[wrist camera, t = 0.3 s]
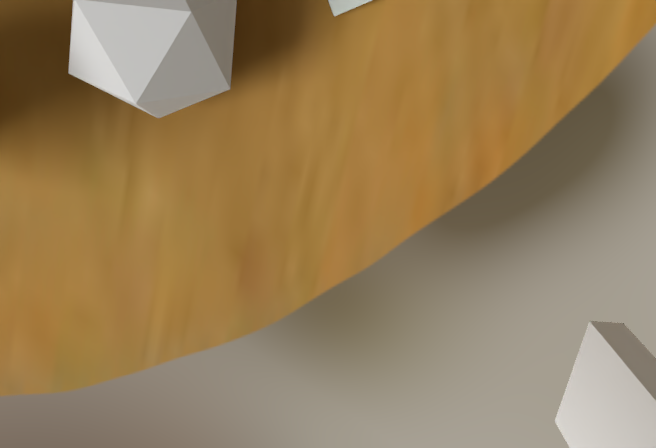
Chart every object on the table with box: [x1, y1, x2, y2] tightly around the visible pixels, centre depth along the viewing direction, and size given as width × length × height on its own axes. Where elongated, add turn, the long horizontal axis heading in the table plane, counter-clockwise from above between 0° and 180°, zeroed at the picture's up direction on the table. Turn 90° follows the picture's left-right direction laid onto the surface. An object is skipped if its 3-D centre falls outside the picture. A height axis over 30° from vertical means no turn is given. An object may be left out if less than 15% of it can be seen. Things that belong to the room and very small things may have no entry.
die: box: [68, 0, 237, 118], centre depth 30 cm, size 8×9×10 cm
